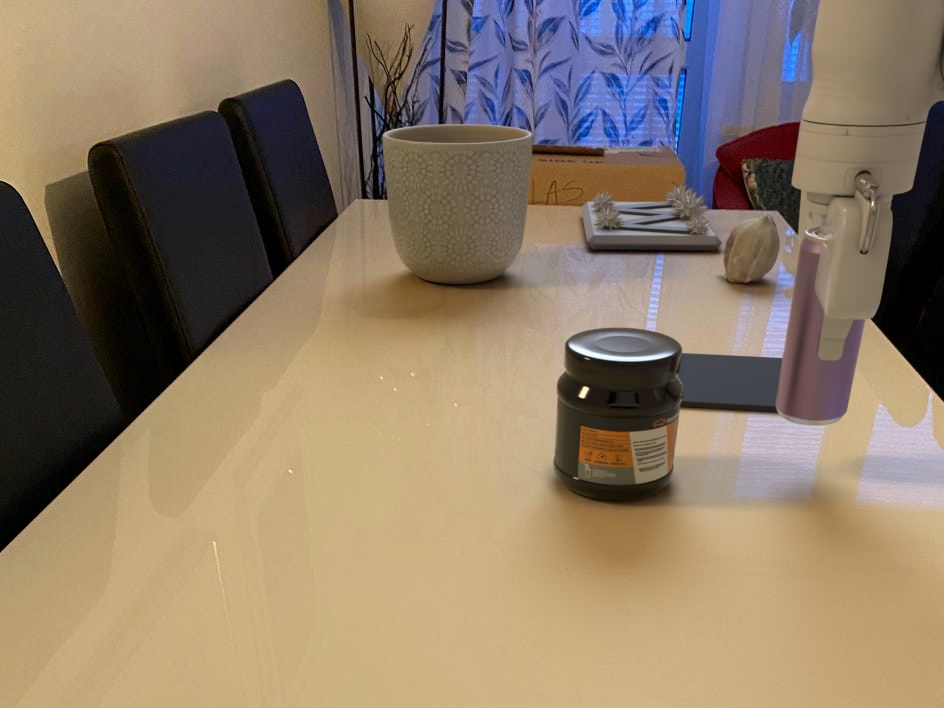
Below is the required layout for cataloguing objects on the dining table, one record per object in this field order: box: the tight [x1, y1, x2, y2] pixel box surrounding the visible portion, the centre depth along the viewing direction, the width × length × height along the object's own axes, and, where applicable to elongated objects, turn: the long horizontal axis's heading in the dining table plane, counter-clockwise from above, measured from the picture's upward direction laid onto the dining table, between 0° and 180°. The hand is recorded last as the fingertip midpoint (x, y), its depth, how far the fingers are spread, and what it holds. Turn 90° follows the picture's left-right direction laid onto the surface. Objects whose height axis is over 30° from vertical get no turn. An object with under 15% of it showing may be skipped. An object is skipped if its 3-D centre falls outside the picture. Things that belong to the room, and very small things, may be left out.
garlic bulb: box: [722, 211, 781, 284], centre depth 142 cm, size 9×8×10 cm
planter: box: [382, 123, 533, 285], centre depth 142 cm, size 21×21×19 cm
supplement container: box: [552, 327, 684, 501], centre depth 84 cm, size 10×10×12 cm
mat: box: [677, 352, 783, 413], centre depth 107 cm, size 14×16×1 cm
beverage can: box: [775, 226, 869, 427], centre depth 82 cm, size 6×6×15 cm
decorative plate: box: [580, 182, 723, 251], centre depth 169 cm, size 30×22×7 cm
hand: (822, 343), depth 83 cm, fingers closed on beverage can, 6 cm apart
